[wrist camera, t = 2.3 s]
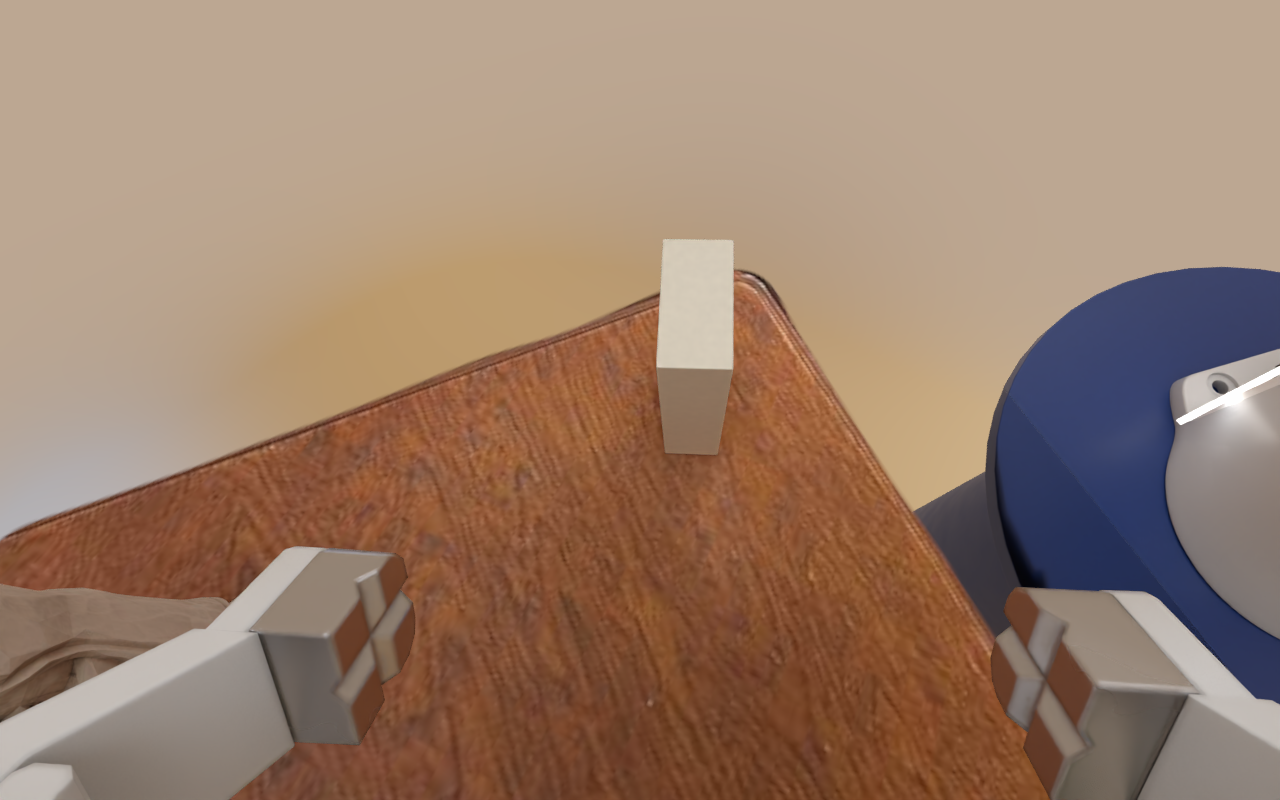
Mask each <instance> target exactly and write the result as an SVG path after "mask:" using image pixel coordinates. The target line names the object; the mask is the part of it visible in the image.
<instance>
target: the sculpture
mask: <svg viewBox="0 0 1280 800" xmlns="http://www.w3.org/2000/svg"><path fill="white" fill-rule="evenodd" d="M234 600H235V599H234ZM234 600H232V601H231V602H229V603H228V602H227V601H226V600H225V599H222V598H218V597H209V598H206V597H202V598H195V599H187V600H176V599H163V598H150V597H139V596H129V595H121V594H114V593H110V592H105V591H99V590H93V589H88V588H68V589H49V590H44V591H35V590H30V589H25V588H19V587H14V586H9V585H3V584H0V722H2V721H5V720H7V719H9V718H11V717H13V716H15V715H17V714H19V713H21V712H23V711H25V710H27V709H29V708H31V707H33V706H35V705H37V704H40V703H42V702H44V701H46V700H48V699H50V698H52V697H54V696H56V695H58V694H60V693H62V692H64V691H66V690H68V689H70V688H73V687H75V686H77V685H79V684H81V683H83V682H85V681H87V680H89V679H91V678H93V677H95V676H97V675H99V674H101V673H103V672H105V671H108V670H110V669H112V668H114V667H116V666H118V665H120V664H122V663H124V662H126V661H128V660H130V659H132V658H134V657H136V656H138V655H141V654H143V653H145V652H147V651H149V650H151V649H153V648H155V647H157V646H159V645H161V644H163V643H165V642H167V641H169V640H171V639H174V638H176V637H178V636H180V635H182V634H184V633H186V632H188V631H190V630H192V629H206V628H207V627H208V626H209V625H210V624H211V623H212V622H213V621H214V620H215V619H216V618H217V617H218V616H219V615H220V614H221V613H222V612H223V611H224V610H225V609H226V608H227V607H228V606H229V605H230V604H231V603H232V602H233V601H234Z"/></svg>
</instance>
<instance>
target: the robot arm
mask: <svg viewBox="0 0 1280 800" xmlns="http://www.w3.org/2000/svg"><path fill="white" fill-rule="evenodd" d="M1212 386H1213V387H1215V388H1216V389H1217V390H1218V393H1217V392H1216V391H1215V390H1214V389H1213V387H1212ZM1170 405H1171V411H1172V416H1173V420H1174V425H1175V437H1174V442H1173V445H1172V448H1171V452H1170V455H1169V459H1168V463H1167V468H1166V477H1165V489H1166V499H1167V506H1168V510H1169V514H1170V518H1171V521H1172V524H1173V527H1174V529H1175V532H1176V534H1177V537H1178V539H1179V541H1180V543H1181V545H1182V547H1183V549H1184V550H1185V552H1186V554H1187V556H1188V557H1189V559H1190V560H1191V562H1192V564H1193V565H1194V566H1195V568H1196V569H1197V571H1198V572H1199V573H1200V575H1201V576H1202V577H1203V578H1204V580H1205V581H1206V582H1207V583H1208V584H1209V585H1210V587H1211V588H1212V589H1213V590H1214V591H1215V592H1216V593H1217V594H1218V595H1219V596H1220V597H1221V598H1222V599H1223V600H1224V601H1225V602H1226V603H1227V604H1228V605H1230V606H1231V607H1232V608H1233V609H1234V610H1236V611H1237V612H1238V613H1239V614H1240V615H1242V616H1243V617H1244V618H1246V619H1247V620H1248V621H1250V622H1251V623H1253V624H1254V625H1256V626H1257V627H1259V628H1260V629H1262V630H1264V631H1265V632H1267V633H1269V634H1271V635H1272V636H1274V637H1276V638H1278V639H1280V349H1277V350H1274V351H1270V352H1267V353H1263V354H1260V355H1256V356H1253V357H1250V358H1246V359H1243V360H1239V361H1236V362H1233V363H1229V364H1226V365H1222V366H1219V367H1215V368H1212V369H1209V370H1205V371H1202V372H1198V373H1195V374H1192V375H1189V376H1186V377H1184V378H1181V379H1179V380H1177V381H1175V382H1174V383H1173V384H1172V386H1171V388H1170ZM407 578H408V576H407V572H406V568H405V563H404V559H403V558H402V557H401V556H399V555H398V554H396V553H386V552H373V551H361V550H348V549H335V548H328V549H325V548H315V547H301V546H295V547H292V548H289V549H286V550H284V551H283V552H282V553H281V554H280V555H279V556H278V557H277V558H276V559H275V560H274V561H273V562H272V563H271V564H270V565H269V566H268V567H267V568H266V569H265V570H264V571H263V572H262V573H261V574H260V575H259V576H258V577H257V578H256V579H255V580H254V581H253V582H252V583H251V584H250V585H249V586H248V587H247V588H246V589H245V590H244V591H243V592H242V593H241V594H240V595H239V596H238V597H237V598H236V599H235V600H234V601H233V602H232V603H231V604H230V605H229V606H228V607H227V608H226V609H225V610H224V611H223V612H222V613H221V614H220V615H219V616H218V617H217V618H216V619H215V620H214V621H213V622H212V623H211V624H210V625H209V626H208V627H207V628H206V629H192V630H190V631H188V632H186V633H184V634H182V635H180V636H178V637H176V638H174V639H171V640H169V641H167V642H165V643H163V644H161V645H159V646H157V647H155V648H153V649H151V650H149V651H147V652H145V653H143V654H141V655H138V656H136V657H134V658H132V659H130V660H128V661H126V662H124V663H122V664H120V665H118V666H116V667H114V668H112V669H110V670H108V671H105V672H103V673H101V674H99V675H97V676H95V677H93V678H91V679H89V680H87V681H85V682H83V683H81V684H79V685H77V686H75V687H73V688H70V689H68V690H66V691H64V692H62V693H60V694H58V695H56V696H54V697H52V698H50V699H48V700H46V701H44V702H42V703H40V704H37V705H35V706H33V707H31V708H29V709H27V710H25V711H23V712H21V713H19V714H17V715H15V716H13V717H11V718H9V719H7V720H5V721H2V722H0V800H229V799H230V798H232V797H233V796H234V795H235V794H237V793H238V792H239V791H240V790H241V789H243V788H244V787H245V786H246V785H248V784H249V783H250V782H251V781H252V780H254V779H255V778H256V777H257V776H259V775H260V774H261V773H262V772H263V771H265V770H266V769H267V768H268V767H270V766H271V765H272V764H273V763H274V762H276V761H277V760H278V759H279V758H281V757H282V756H283V755H284V754H285V753H287V752H288V751H289V750H290V749H292V748H293V747H294V746H295V743H294V742H307V743H327V744H347V745H360V744H361V742H362V740H363V738H364V737H365V735H366V733H367V731H368V730H369V728H370V726H371V724H372V722H373V721H374V719H375V717H376V715H377V713H378V712H379V710H380V708H381V706H382V704H383V703H384V701H385V699H384V695H383V690H382V686H381V685H383V684H384V683H385V682H387V681H388V680H390V679H391V678H393V677H394V676H396V675H397V674H398V673H400V672H401V670H402V668H403V666H404V664H405V662H406V660H407V658H408V656H409V654H410V650H411V646H412V642H413V639H414V635H415V612H414V607H413V602H412V601H411V600H410V599H409V598H408V597H407V596H406V595H405V594H404V593H403V592H402V591H401V590H400V589H401V587H402V586H403V584H404V583H405V581H406V579H407ZM1004 613H1005V615H1006V616H1007V618H1008V620H1009V621H1010V623H1011V625H1012V626H1010V627H1009V628H1008V629H1006V630H1005V631H1004V632H1003V633H1001V634H1000V635H999V636H997V637H996V638H995V642H994V646H993V650H992V654H991V674H992V682H993V685H994V689H995V692H996V695H997V698H998V700H999V702H1000V704H1001V706H1002V708H1003V710H1004V712H1005V714H1006V715H1007V716H1008V717H1009V718H1010V719H1012V720H1013V721H1014V722H1015V723H1017V724H1018V725H1019V726H1020V727H1022V728H1023V729H1024V730H1025V731H1027V732H1028V733H1027V736H1026V740H1025V743H1024V746H1023V749H1024V751H1025V752H1026V754H1027V756H1028V758H1029V760H1030V762H1031V764H1032V766H1033V768H1034V769H1035V771H1036V773H1037V775H1038V777H1039V779H1040V781H1041V783H1042V785H1043V787H1044V788H1045V790H1046V792H1047V794H1048V796H1049V798H1050V800H1280V704H1278V703H1276V702H1274V701H1272V700H1264V699H1256V698H1255V697H1254V696H1253V695H1252V694H1251V693H1250V692H1249V691H1248V690H1247V689H1246V688H1245V687H1244V686H1243V685H1242V684H1241V683H1240V682H1239V681H1238V680H1237V679H1236V678H1235V677H1234V676H1233V675H1232V674H1231V673H1230V672H1229V671H1228V670H1227V669H1226V668H1225V667H1224V666H1223V665H1222V664H1221V663H1220V661H1219V660H1218V659H1217V658H1216V657H1215V656H1214V655H1213V654H1212V653H1211V652H1210V651H1209V650H1208V649H1207V648H1206V647H1205V646H1204V645H1203V644H1202V643H1201V642H1200V641H1199V640H1198V639H1197V638H1196V637H1195V636H1194V635H1193V634H1192V633H1191V632H1190V631H1189V630H1188V629H1187V628H1186V627H1185V626H1184V625H1183V624H1182V623H1181V622H1180V621H1179V620H1178V619H1177V618H1176V617H1175V616H1174V615H1173V613H1172V612H1171V611H1170V610H1169V609H1168V608H1167V607H1166V606H1165V605H1164V604H1163V603H1162V602H1161V601H1160V600H1159V599H1157V598H1156V597H1154V596H1152V595H1150V594H1148V593H1146V592H1142V591H1111V590H1100V591H1085V590H1064V589H1044V588H1023V587H1016V588H1015V589H1014V590H1013V591H1012V592H1011V594H1010V595H1009V596H1008V599H1007V602H1006V605H1005V608H1004Z"/></svg>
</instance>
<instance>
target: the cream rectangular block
mask: <svg viewBox="0 0 1280 800" xmlns="http://www.w3.org/2000/svg"><path fill="white" fill-rule="evenodd" d="M733 321H734V241H733V240H675V239H674V240H671V239H669V240H668V239H666V240H665V239H664V240H663V247H662V266H661V285H660V303H659V322H658V341H657V360H656V371H657V380H658V390H659V400H660V410H661V419H662V429H663V439H664V449H665V453H674V454H700V455H718V450H719V444H720V439H721V433H722V428H723V423H724V417H725V412H726V406H727V401H728V395H729V390H730V384H731V379H732V373H733Z"/></svg>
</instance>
